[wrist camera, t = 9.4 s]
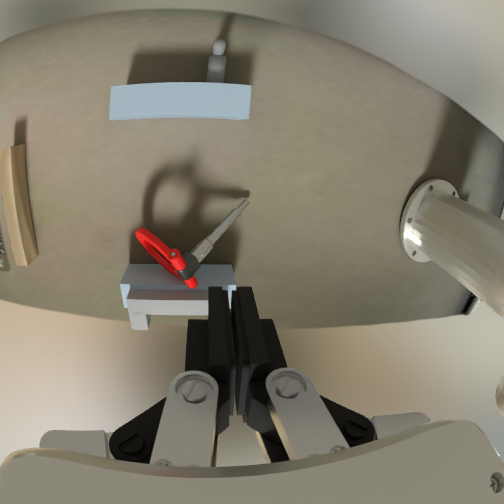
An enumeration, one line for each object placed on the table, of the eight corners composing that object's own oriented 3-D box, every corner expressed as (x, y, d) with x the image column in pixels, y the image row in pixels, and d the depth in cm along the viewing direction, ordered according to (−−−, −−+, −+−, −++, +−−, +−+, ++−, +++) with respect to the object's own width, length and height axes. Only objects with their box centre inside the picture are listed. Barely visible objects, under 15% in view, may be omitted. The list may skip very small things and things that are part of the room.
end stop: (25, 143, 21) (10, 146, 18) (38, 254, 27) (27, 266, 24) (13, 146, 21) (-1, 149, 18) (27, 254, 27) (16, 265, 24)
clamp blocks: (247, 56, 22) (259, 38, 17) (230, 296, 34) (235, 330, 28) (128, 56, 20) (110, 40, 15) (133, 296, 32) (123, 328, 26)
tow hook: (123, 224, 25) (169, 257, 21) (193, 160, 29) (246, 178, 25) (150, 262, 30) (195, 295, 27) (208, 202, 34) (256, 224, 31)
